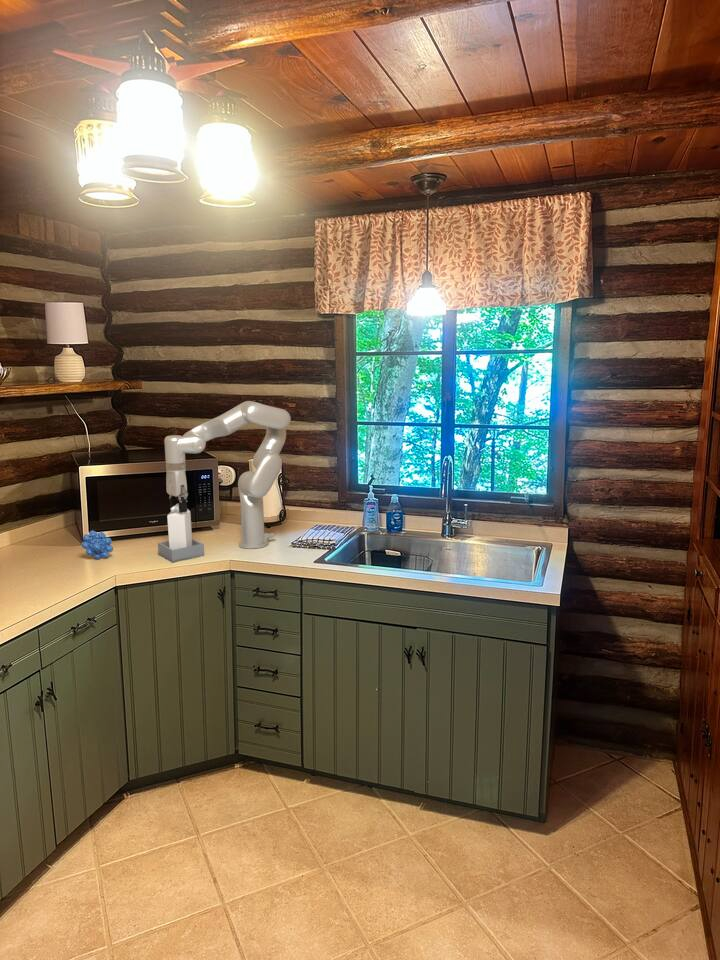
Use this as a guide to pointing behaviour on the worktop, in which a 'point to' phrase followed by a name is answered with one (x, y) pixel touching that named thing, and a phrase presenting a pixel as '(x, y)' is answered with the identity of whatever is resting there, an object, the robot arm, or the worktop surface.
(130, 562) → the worktop surface
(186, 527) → the milk carton
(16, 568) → the worktop surface
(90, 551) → the grapes
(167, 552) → the bin
